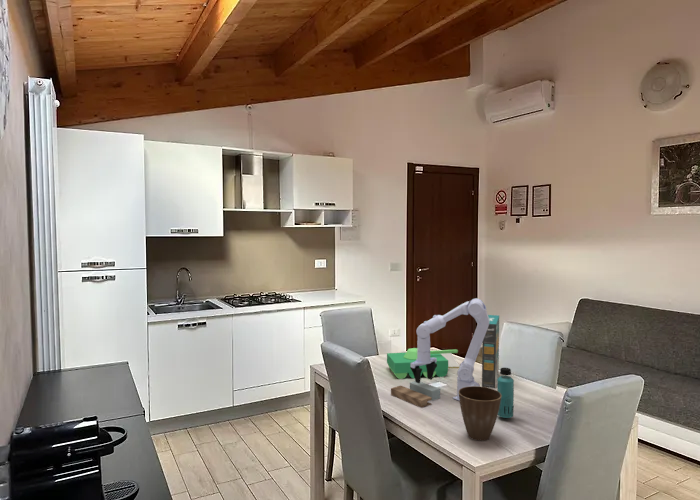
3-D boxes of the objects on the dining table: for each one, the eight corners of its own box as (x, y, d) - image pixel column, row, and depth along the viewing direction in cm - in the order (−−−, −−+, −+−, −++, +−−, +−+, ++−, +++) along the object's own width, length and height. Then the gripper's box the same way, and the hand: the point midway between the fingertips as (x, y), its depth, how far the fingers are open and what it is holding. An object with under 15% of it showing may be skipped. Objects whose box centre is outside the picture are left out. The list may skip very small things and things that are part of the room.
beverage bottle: (502, 422, 190) (503, 371, 189) (493, 416, 197) (493, 366, 195) (517, 420, 192) (518, 370, 191) (507, 414, 198) (508, 365, 197)
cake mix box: (486, 373, 251) (486, 314, 250) (498, 374, 249) (499, 315, 247) (481, 386, 231) (482, 323, 229) (495, 388, 229) (496, 324, 227)
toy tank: (463, 352, 246) (394, 355, 241) (463, 376, 247) (394, 380, 242) (450, 343, 264) (386, 346, 259) (450, 365, 265) (386, 369, 259)
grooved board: (431, 404, 209) (431, 397, 209) (421, 407, 206) (421, 400, 206) (400, 391, 224) (400, 385, 224) (390, 394, 221) (390, 388, 221)
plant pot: (480, 424, 189) (480, 383, 188) (509, 439, 176) (510, 395, 174) (449, 432, 182) (449, 390, 181) (478, 449, 168) (478, 403, 167)
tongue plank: (440, 398, 217) (440, 388, 216) (429, 402, 213) (429, 391, 212) (417, 390, 228) (417, 380, 228) (407, 393, 224) (407, 383, 224)
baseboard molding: (437, 369, 260) (460, 369, 260) (437, 364, 260) (460, 364, 259) (429, 353, 291) (449, 353, 291) (429, 348, 291) (449, 348, 290)
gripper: (428, 346, 227) (428, 375, 228) (405, 351, 218) (405, 381, 219) (440, 349, 221) (440, 379, 222) (417, 355, 213) (417, 385, 213)
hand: (423, 380), depth 220 cm, fingers open, 7 cm apart
